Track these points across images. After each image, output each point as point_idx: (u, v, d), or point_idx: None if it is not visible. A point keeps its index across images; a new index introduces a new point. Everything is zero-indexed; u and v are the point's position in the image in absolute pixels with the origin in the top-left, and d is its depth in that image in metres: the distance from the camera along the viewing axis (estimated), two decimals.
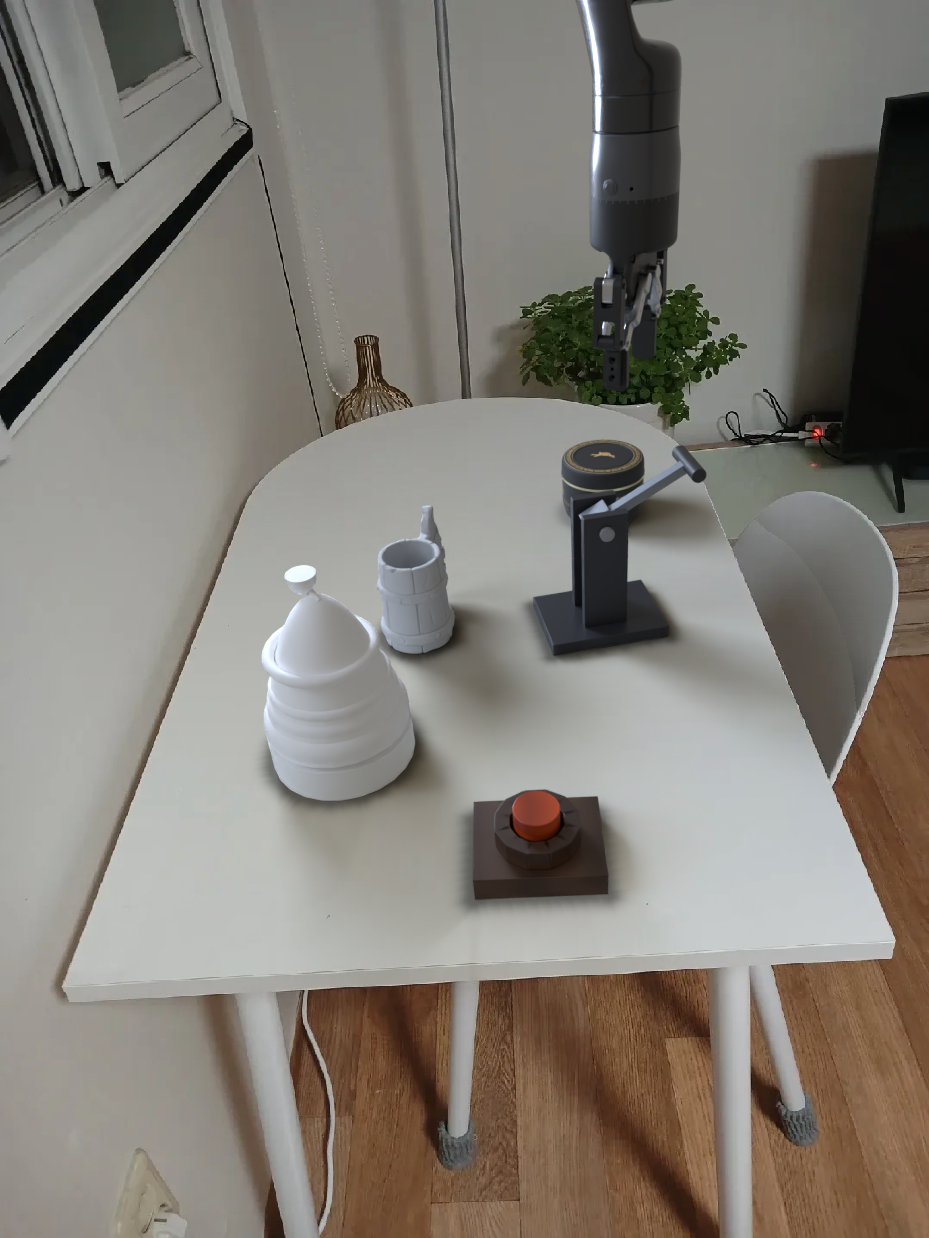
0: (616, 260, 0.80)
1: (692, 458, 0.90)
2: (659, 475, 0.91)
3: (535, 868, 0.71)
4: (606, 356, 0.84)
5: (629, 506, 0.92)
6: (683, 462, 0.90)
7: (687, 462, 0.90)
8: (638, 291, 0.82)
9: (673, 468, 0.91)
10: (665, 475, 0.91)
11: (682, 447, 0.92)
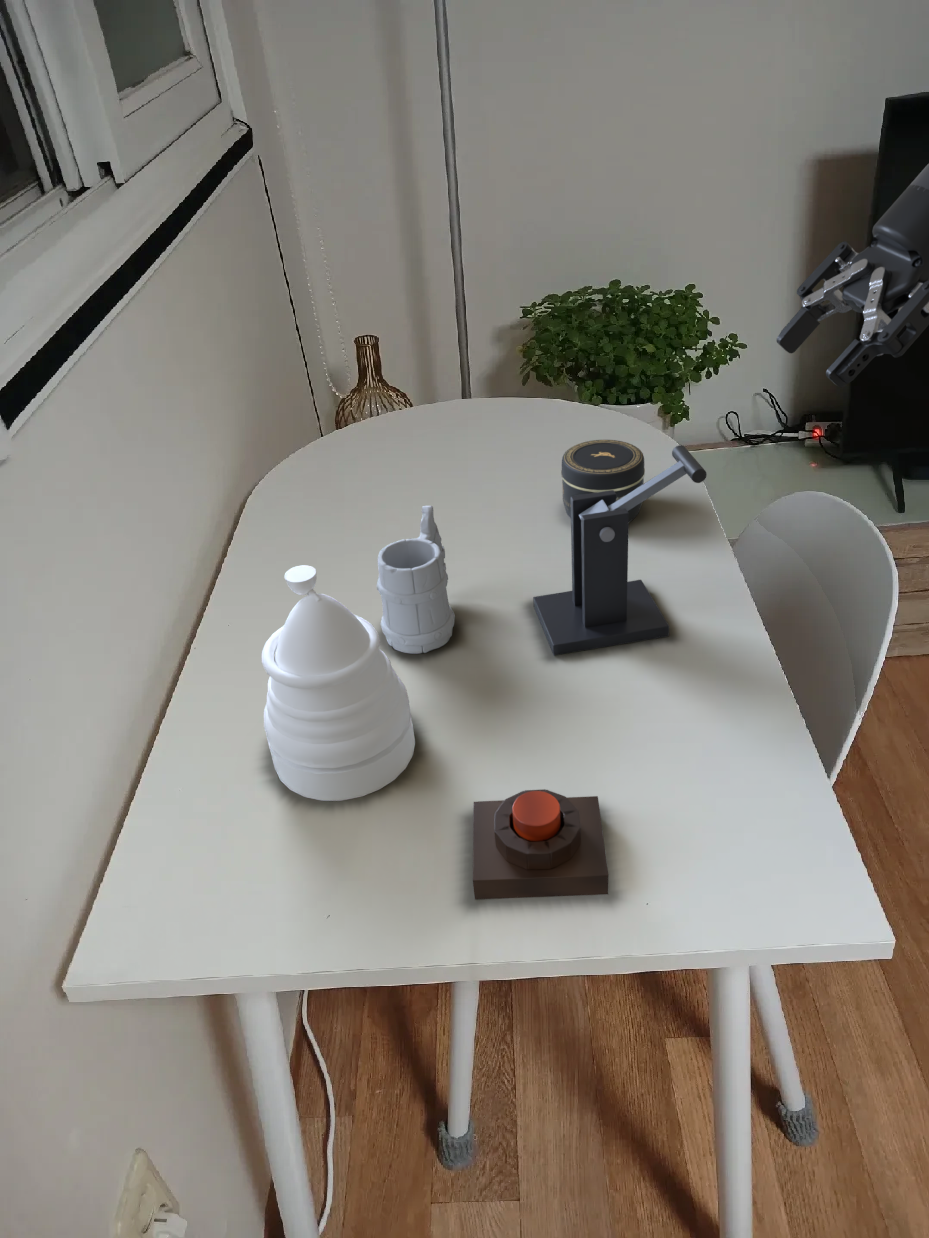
0: None
1: (692, 458, 0.90)
2: (659, 475, 0.91)
3: (535, 868, 0.71)
4: None
5: (629, 506, 0.92)
6: (683, 462, 0.90)
7: (687, 462, 0.90)
8: None
9: (673, 468, 0.91)
10: (665, 475, 0.91)
11: (682, 447, 0.92)
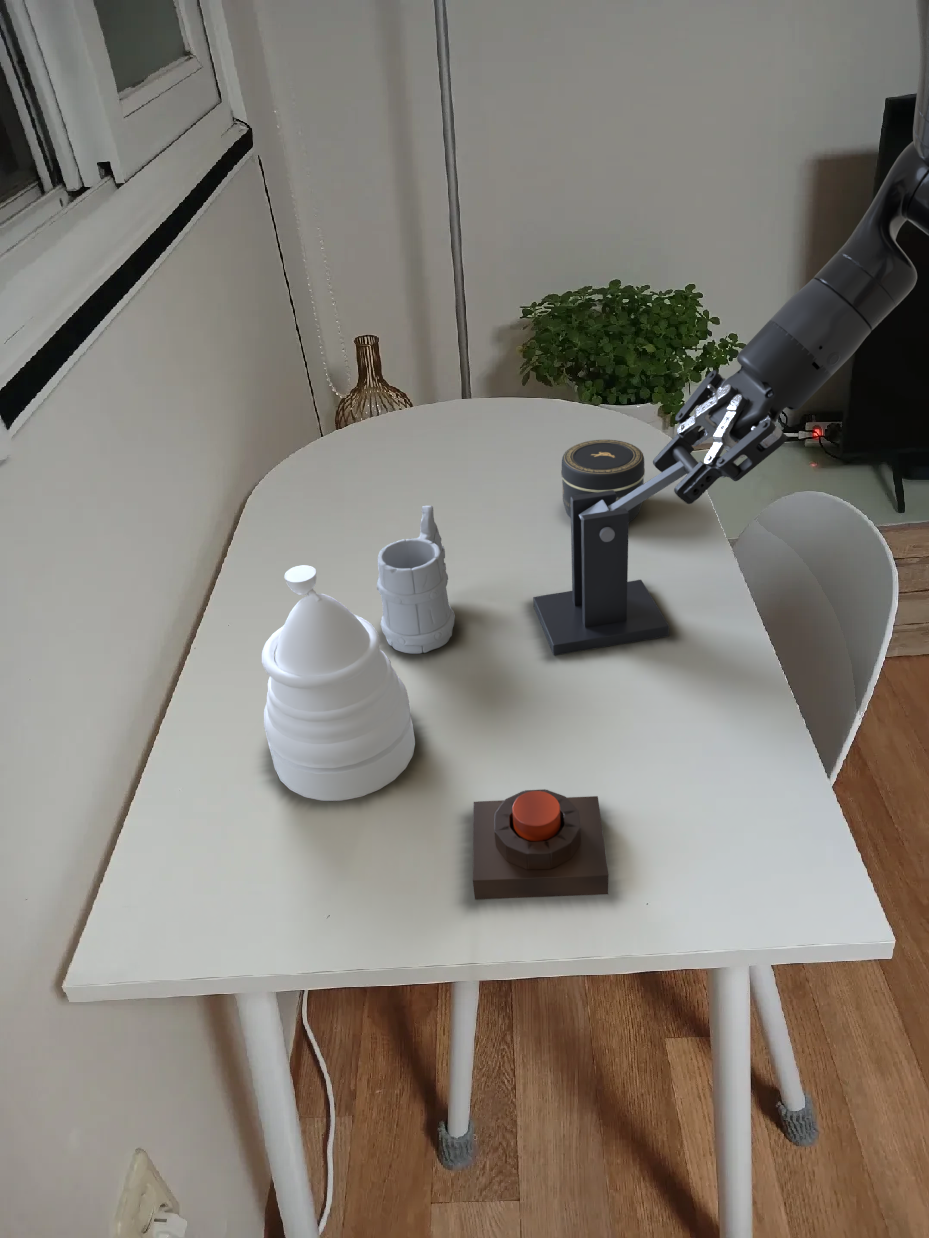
0: None
1: (692, 458, 0.90)
2: (659, 475, 0.91)
3: (535, 868, 0.71)
4: None
5: (629, 506, 0.92)
6: (683, 462, 0.90)
7: (687, 462, 0.90)
8: None
9: (673, 468, 0.91)
10: (665, 475, 0.91)
11: (682, 447, 0.92)
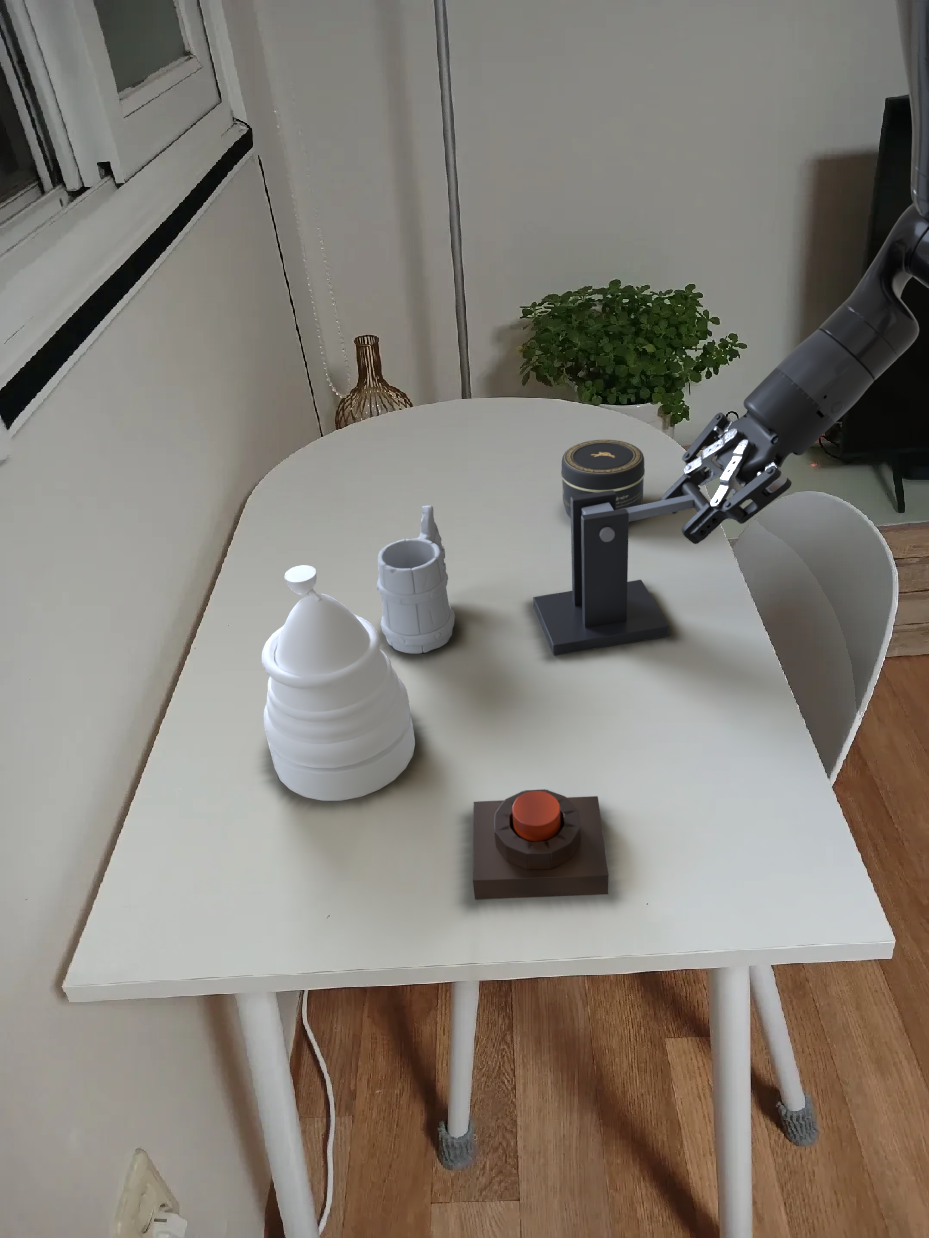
0: None
1: (704, 496, 0.93)
2: (668, 500, 0.93)
3: (535, 868, 0.71)
4: None
5: (632, 517, 0.92)
6: (694, 496, 0.93)
7: (699, 497, 0.92)
8: None
9: (684, 498, 0.93)
10: (674, 502, 0.93)
11: (694, 484, 0.95)
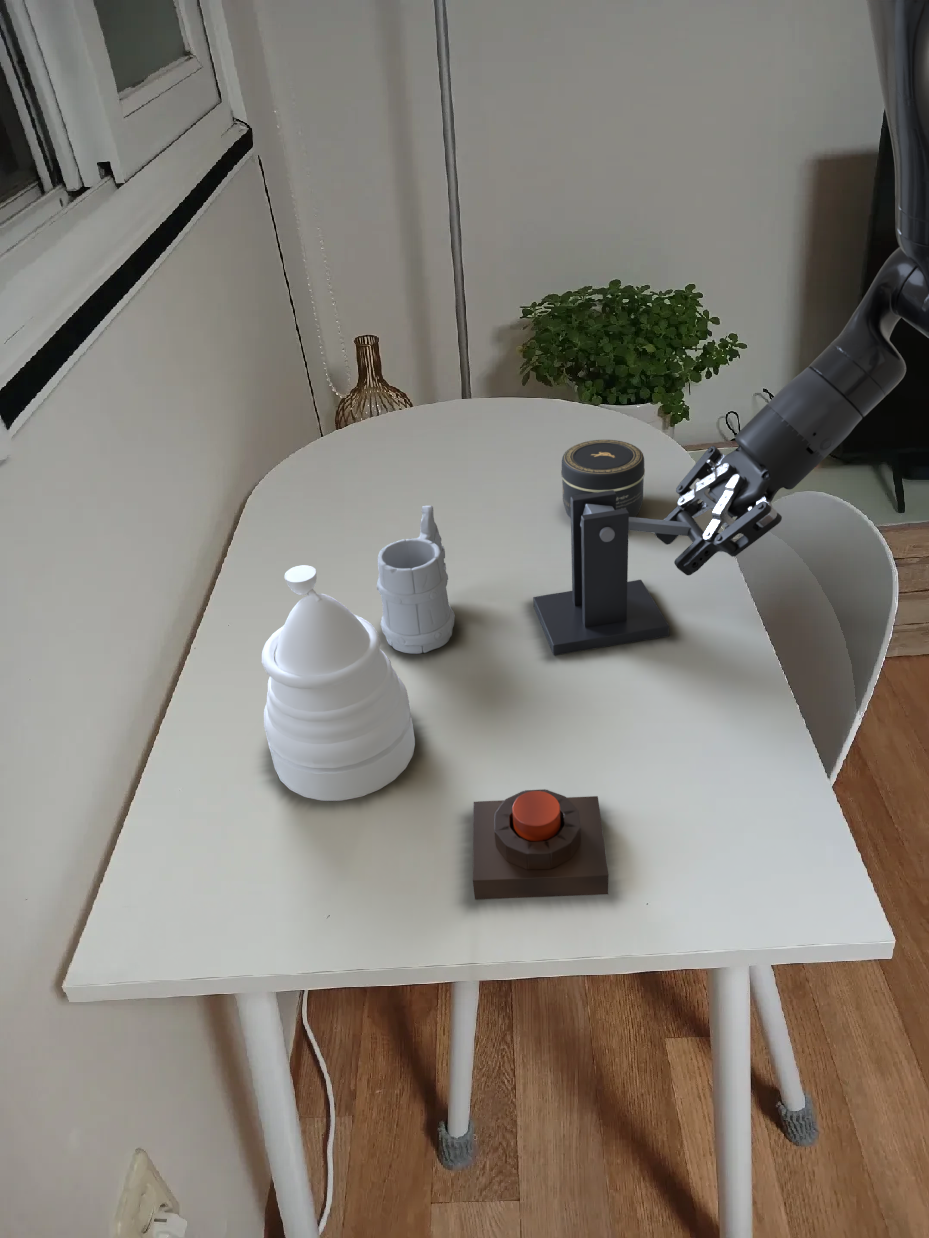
0: None
1: None
2: (666, 521, 0.94)
3: (535, 868, 0.71)
4: None
5: (630, 527, 0.93)
6: (691, 525, 0.94)
7: (696, 527, 0.94)
8: None
9: (681, 524, 0.94)
10: (672, 524, 0.94)
11: (690, 515, 0.97)
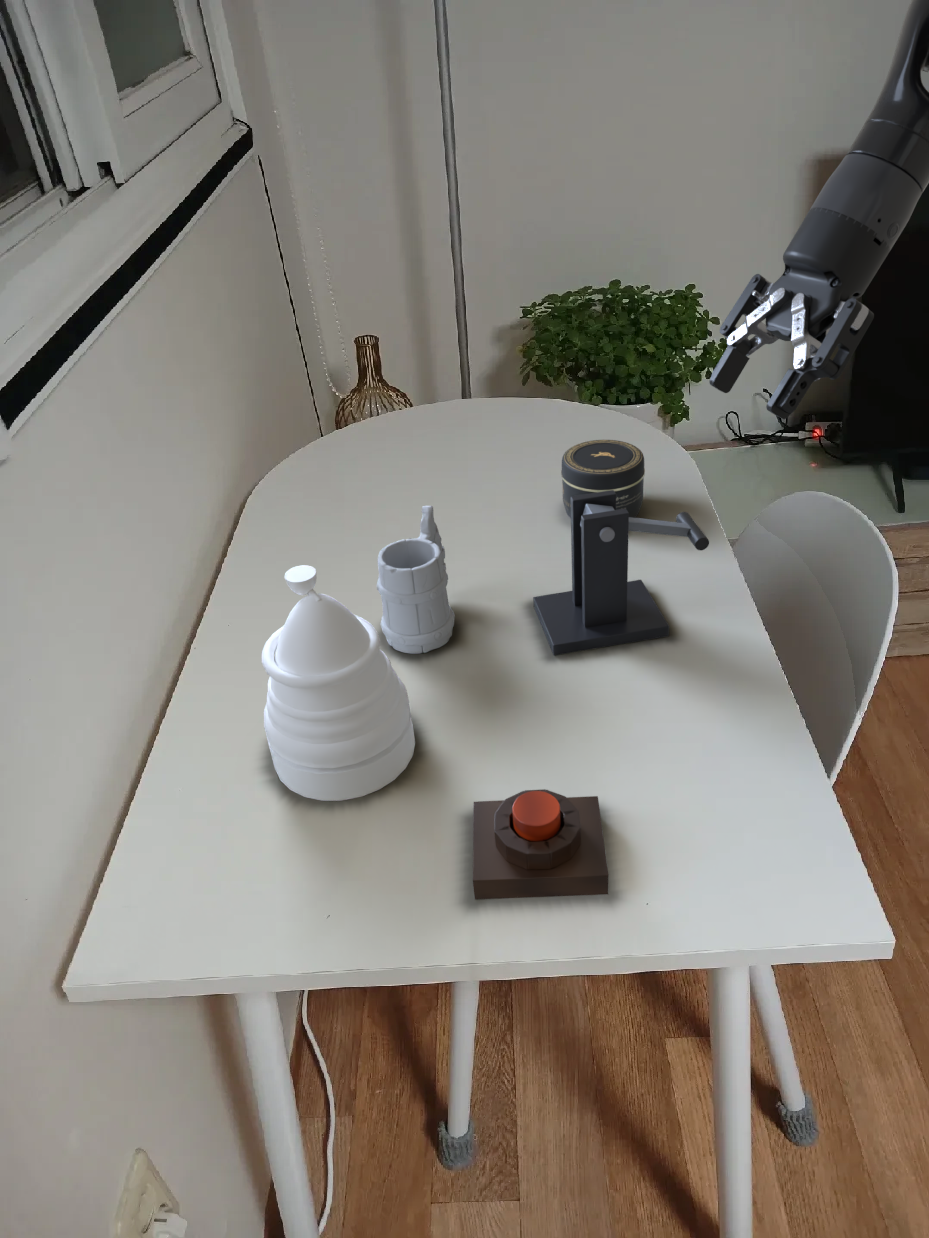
0: None
1: (699, 528, 0.95)
2: (666, 522, 0.94)
3: (535, 868, 0.71)
4: None
5: (630, 527, 0.93)
6: (691, 526, 0.95)
7: (696, 528, 0.94)
8: None
9: (681, 525, 0.94)
10: (672, 525, 0.94)
11: (690, 516, 0.97)
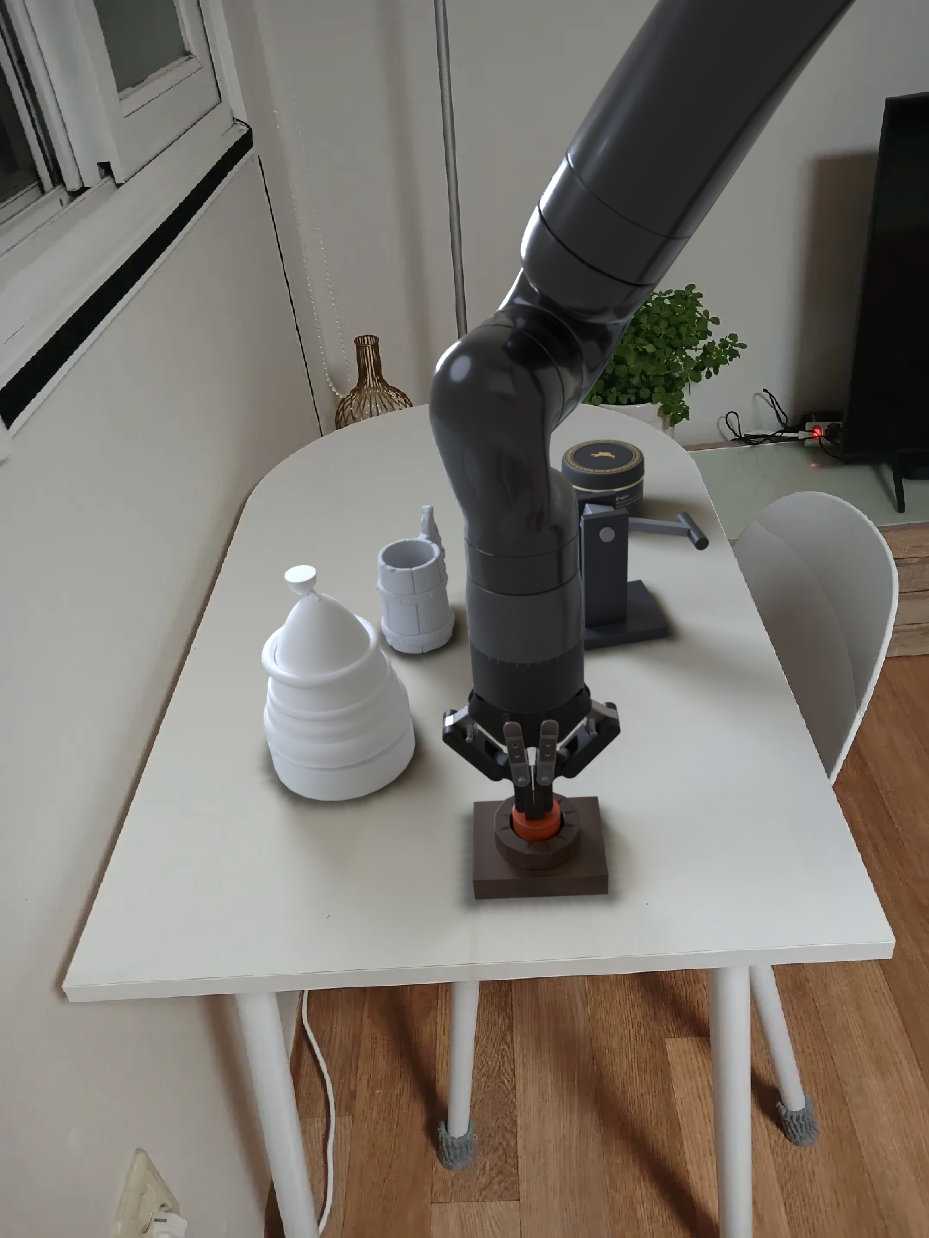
0: None
1: (699, 528, 0.95)
2: (666, 522, 0.94)
3: (535, 868, 0.71)
4: None
5: (630, 527, 0.93)
6: (691, 526, 0.95)
7: (696, 528, 0.94)
8: (505, 737, 0.66)
9: (681, 525, 0.94)
10: (672, 525, 0.94)
11: (690, 516, 0.97)
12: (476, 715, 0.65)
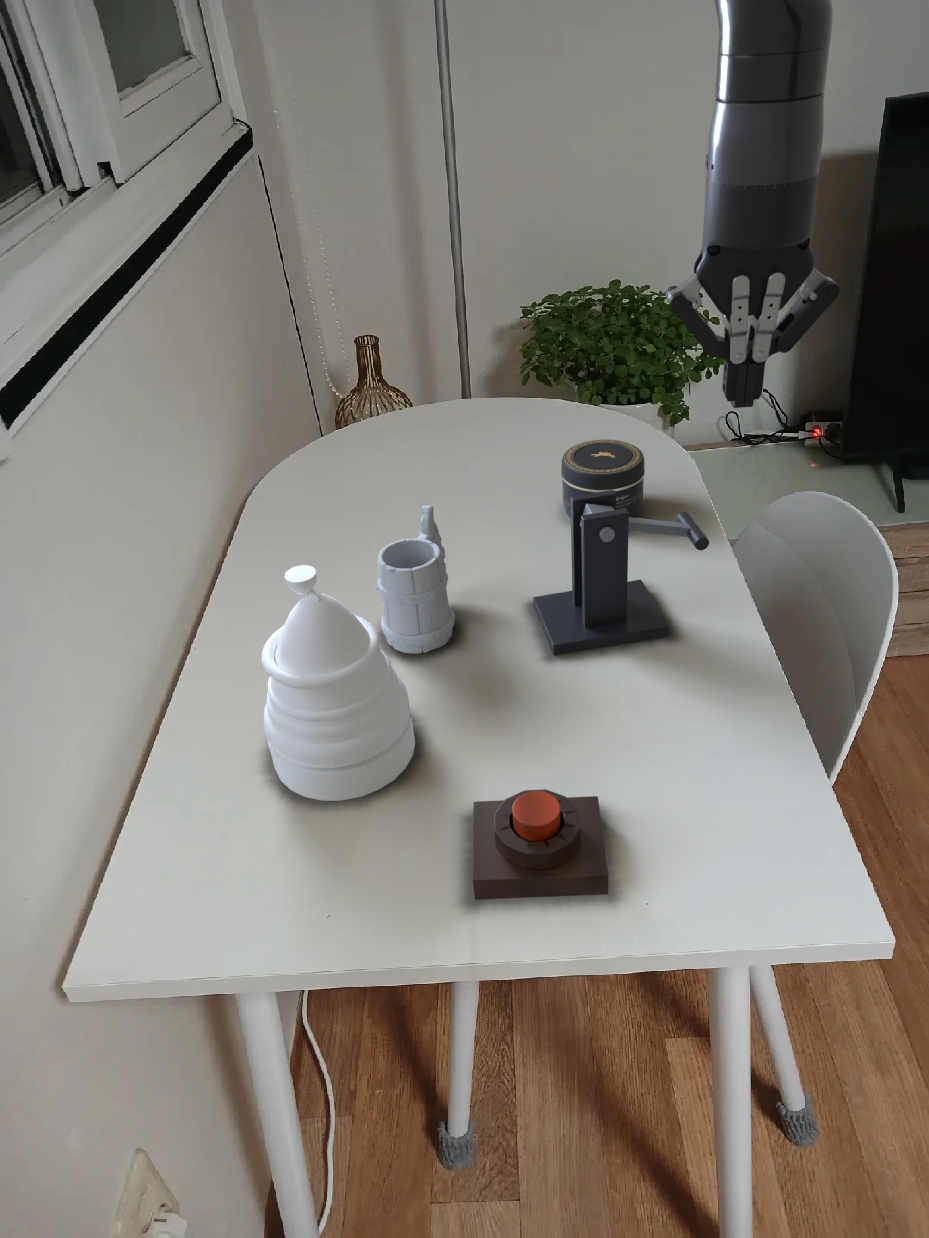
0: (702, 247, 0.69)
1: (699, 528, 0.95)
2: (666, 522, 0.94)
3: (535, 868, 0.71)
4: (724, 362, 0.75)
5: (630, 527, 0.93)
6: (691, 526, 0.95)
7: (696, 528, 0.94)
8: (730, 300, 0.70)
9: (681, 525, 0.94)
10: (672, 525, 0.94)
11: (690, 516, 0.97)
12: (706, 275, 0.69)
